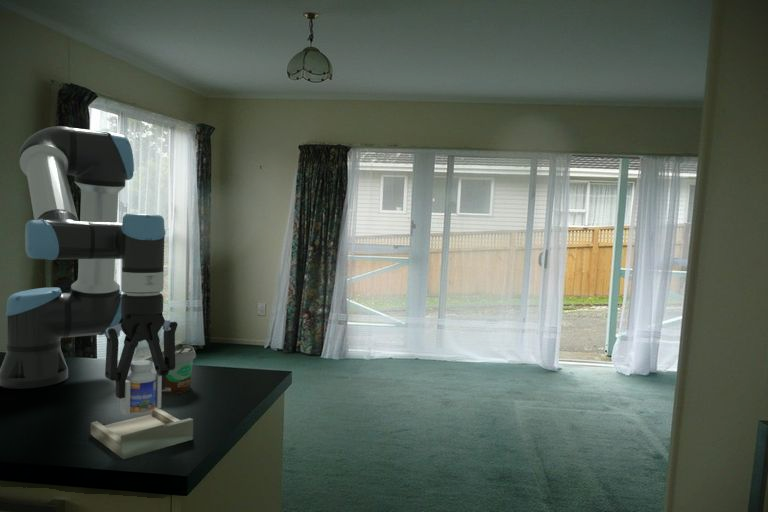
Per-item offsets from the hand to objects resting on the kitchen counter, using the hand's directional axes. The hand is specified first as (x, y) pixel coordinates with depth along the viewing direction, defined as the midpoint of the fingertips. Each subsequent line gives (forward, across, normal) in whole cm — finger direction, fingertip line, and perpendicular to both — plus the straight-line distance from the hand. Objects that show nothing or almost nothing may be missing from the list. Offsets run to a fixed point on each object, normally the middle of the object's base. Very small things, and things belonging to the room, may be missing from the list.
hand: (140, 409), depth 108 cm
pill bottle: (+1, 0, 0) cm, 1 cm away
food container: (+6, +20, +22) cm, 30 cm away
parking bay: (+5, 0, 0) cm, 5 cm away
